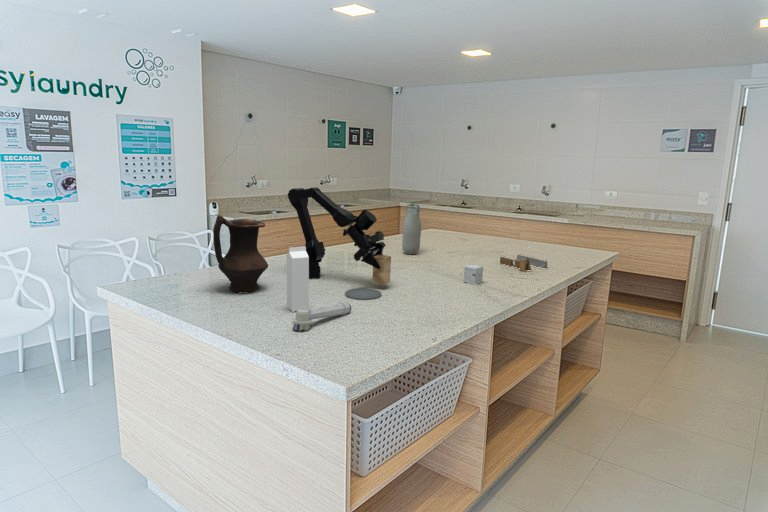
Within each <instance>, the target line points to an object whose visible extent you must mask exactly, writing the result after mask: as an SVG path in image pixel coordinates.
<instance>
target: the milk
mask: <svg viewBox="0 0 768 512" xmlns="http://www.w3.org/2000/svg"><path fill="white" fill-rule="evenodd" d="M285 263H286V265H285V266H286V308H287V310H289V309H290V310H291V311H290V310H289V311H290V312H291V313H296V312H295V311H298V310H310V309H309V308H310V304H309V303H310V294H309V293H310V291H309V290H310V279H309V256H308V254H307V252H306V247H305V245H303V246H292V247H291V246H290V247H289V249H288V252H287V254H286V259H285Z"/></svg>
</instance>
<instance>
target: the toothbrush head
mask: <svg viewBox="0 0 768 512" xmlns="http://www.w3.org/2000/svg"><path fill="white" fill-rule="evenodd" d="M351 312H352V305H351V304H350V303H349V302H341V301H340V302H338V303H334V304H329V305H326V306H321V307H316V308H313V309H309V310H298V311H297V312H295V314H296V315H295V318H294V319H292V322H291V323H293V326H292V330H294V331H299V332H301V331H306V330H307V331H309V330H310V329H311V324H312V323H313V320H319V319H325V318H331V317H337V316H341V315H343V316H344V315H347V313H348V314H350V313H351Z"/></svg>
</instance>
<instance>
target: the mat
mask: <svg viewBox="0 0 768 512" xmlns="http://www.w3.org/2000/svg"><path fill="white" fill-rule="evenodd" d="M344 296H345V297H346V298H349V299H351V300H357V301H370V300H371V301H372V299H373V300H377V299H380V298H381V297H382V291H379V290H377V289H373V288H368V287H367V288H366V287H360V288H351V289H347V290H346V291H345V292H344Z"/></svg>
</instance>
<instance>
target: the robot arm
mask: <svg viewBox="0 0 768 512" xmlns="http://www.w3.org/2000/svg"><path fill="white" fill-rule="evenodd" d="M309 198H312V199H313V201H315V202H316V203H317V204H319V205H320V206H321V207H322V208H323V209H324V210H325V211H326V212H328V213H329V215H331V217H332V220H333V221H334V222H335V223H336V225H337V226H338V227H340V228H343V233H342V236H343V237H346V236H349V237H350V238H351V240H352V242H354V244H353V246H354V247H357V248H358V250H357V251H356V252H355V253H353V259H354V260H355V261H356V262H358V261H360V262H363V263H366V264H367V265H370V266H372V268H373V267H375V268H377V269H380V266H379V264H378V262H377V261H376V259H375V257H374V256H377V255H383V250H384V248H385V247H386V243H385V242H384V241H385V237H384V236H385V234H384V233H383V232H382V231H381V230H378V231H376V232H375V234H373V235H370V234H366V233H365V231H368V230H370V228H371V227H372V226H374V224H376V222H377V216H375V214H373V213H372V212H370V211H369V210H368V209H363V210H362V211H361V212H360V214H358V216H357V215H355V214H354V213H352V212H351V211H349V210H347V209H346V208H342V207H341V206H339V205H337V203H335V202H334V200H332V199H331V198H330V197H329V196H328V195H326V194H325V193H324V192H323V191H321V189H320V188H319V187H314V186H313V187H310V188H302V187H298V188H295V187H294V188H291V189H289V191H288V193H287V199H288V200H289V201H288V202H289V203H290V205H291V206H292V207H293V208H294V210H296V214H297V219H298V220H299V221H298V222H299V223H300V227H301V230H302V234H303V237H304V240H305V245H304V246H305V247H306V252H307V254H308V256H309V280H310V279H321V266H320V263H322V261H323V258H324V257H325V254H326V252H325V251H326V248H325V246H324V242H323V241H319V240H318V238H317V236H316V235H317V234H316V232H315V229H314V228H315V227H314V225H313V221H312V218H311V215H310V212H309V208H308V204H309ZM346 227H347V228H346ZM344 228H345V229H344ZM361 258H362V259H361Z"/></svg>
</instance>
